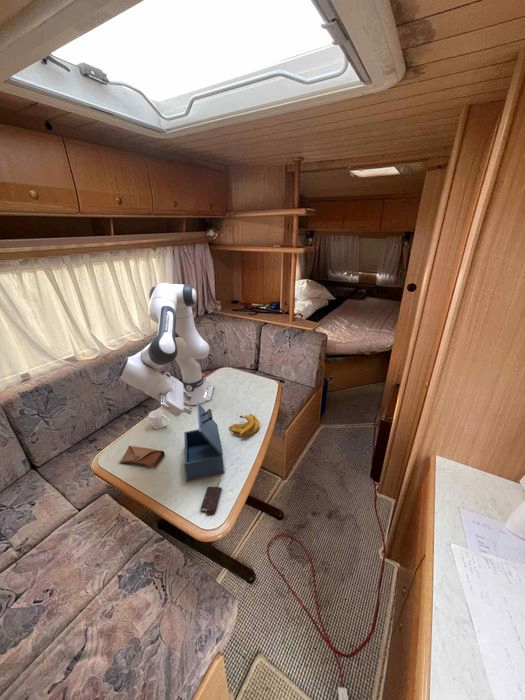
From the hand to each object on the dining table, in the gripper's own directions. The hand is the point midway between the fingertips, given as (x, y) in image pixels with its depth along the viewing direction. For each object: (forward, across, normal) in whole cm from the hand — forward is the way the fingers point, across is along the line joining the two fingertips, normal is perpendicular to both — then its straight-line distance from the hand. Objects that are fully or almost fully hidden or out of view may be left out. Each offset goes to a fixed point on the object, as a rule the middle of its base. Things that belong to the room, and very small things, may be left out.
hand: (190, 405), depth 109 cm
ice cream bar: (+24, -20, +18) cm, 36 cm away
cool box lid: (+13, 0, +5) cm, 14 cm away
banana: (+38, +15, +4) cm, 41 cm away
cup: (+8, +30, +34) cm, 46 cm away
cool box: (+22, 0, +19) cm, 29 cm away
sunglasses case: (+3, +8, +38) cm, 39 cm away
